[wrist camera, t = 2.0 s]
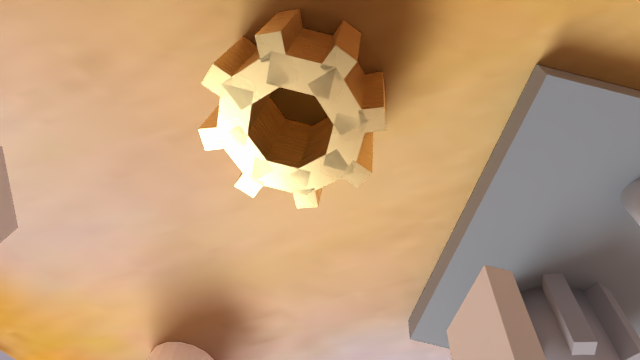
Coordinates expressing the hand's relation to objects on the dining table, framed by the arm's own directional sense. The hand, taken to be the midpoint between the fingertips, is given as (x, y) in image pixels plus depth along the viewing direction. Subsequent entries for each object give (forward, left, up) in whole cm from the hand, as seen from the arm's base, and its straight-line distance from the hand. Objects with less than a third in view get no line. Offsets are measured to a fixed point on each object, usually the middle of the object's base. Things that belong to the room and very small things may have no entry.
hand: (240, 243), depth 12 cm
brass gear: (0, 0, -12) cm, 12 cm away
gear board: (+5, +17, -12) cm, 21 cm away
